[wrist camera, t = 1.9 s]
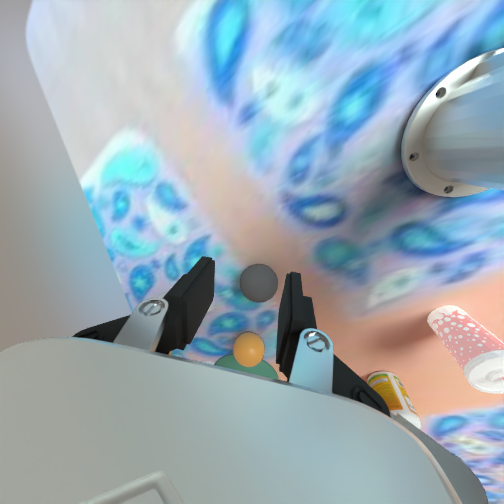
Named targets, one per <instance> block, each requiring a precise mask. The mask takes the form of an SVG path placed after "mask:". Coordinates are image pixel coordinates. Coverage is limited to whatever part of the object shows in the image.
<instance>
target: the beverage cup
mask: <svg viewBox="0 0 504 504" xmlns="http://www.w3.org/2000/svg"><path fill="white" fill-rule="evenodd" d="M427 322H428V323H429V325H430V326H431V328H432V329H433V330H434V332H435V333H436V335H437V336H438V337H439V339H440V340H441V341H442V343H443V344H444V345H445V347H446V348H447V350H448V351H449V352H450V354H451V355H452V356H453V358H454V359H455V360H456V362H457V363H458V365H459V366H460V367H461V369H462V370H463V374H464V376H465V377H466V379H467V380H468V382H469V383H470V385H471V386H472V387H474V388H476V389H477V390H479V391H482V392H487V393H504V342H503V341H502V340H501V339H500V338H498V337H497V336H496V335H494V334H493V333H492V332H490V331H489V330H488V329H487V328H485V327H484V326H483V325H481V324H480V323H479V322H477V321H476V320H475V319H474V318H472V317H471V316H470V315H468V314H467V313H466V312H464V311H463V310H462V309H460V308H458V307H457V306H451V305H449V306H442V307H439V308H436V309H435V310H433V311H432V312H431V313H430V314H429V316H428V320H427Z"/></svg>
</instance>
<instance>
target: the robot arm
mask: <svg viewBox="0 0 504 504" xmlns="http://www.w3.org/2000/svg"><path fill="white" fill-rule="evenodd" d="M436 93H437V97H436V96H435V94H436ZM410 155H412V157H411V159H409V158H410ZM401 159H402V164H403V168H404V170H405V172H406V174H407V176H408V178H409V179H410V180H411V181H412V183H413V184H414V185H416V186H417V187H418V188H420V189H421V190H423V191H426V192H428V193H430V194H434V195H438V196H444V197H462V196H469V195H473V194H477V193H480V192H483V191H486V190H488V189H491V188H492V189H499V190H504V48H499V49H496V50H493V51H489V52H486V53H483V54H481V55H479V56H477V57H475V58H473V59H471V60H468V61H466V62H465V63H463V64H461V65H460V66H458V67H456V68H454V69H453V70H451V71H450V72H449V73H448V74H446V75H445V76H444V77H442V78H441V79H440V80H438V81H437V82H436V83H435V85H434V86H433V87H432V88H431V89H430V90H429V91H428V92H427V93H426V94H425V95H424V96H423V98H422V99H421V100H420V102H419V103H418V104H417V106H416V107H415V109H414V111H413V113H412V115H411V116H410V118H409V120H408V123H407V125H406V128H405V131H404V134H403V139H402V144H401ZM214 275H215V261H214V260H212V258H210V257H204V256H202V257H201V258H200V260H199V261H198V262H197V263H196V264H195V265H194V267H193V268H192V269H191V270H190V271H189V272H188V274H184V275H183V276H182V277H181V278H180V279H179V280H178V282H177V283H176V284H175V285H174V286H173V287H172V288H171V289H170V291H169V292H168V293H167V294H166V295H165V296H164V297H163V299H162V298H150V299H146V300H144V301H142V302H141V303H139V304H138V305H137V306H136V308H135V309H134V311H133V312H132V314H131V315H129V316H126V317H122V318H119V319H116V320H113V321H109V322H106V323H103V324H100V325H97V326H93V327H90V328H87V329H85V330H82V331H80V332H78V333H76V334H75V335H74V336H72V337H53V338H52V337H51V338H42V339H37V340H31V341H27V342H23V343H20V344H17V345H14V346H12V347H10V348H8V349H6V350H4V351H2V352H0V504H488V499H487V496H486V492H485V489H484V488H483V486H482V484H481V482H480V481H479V479H478V478H477V477H476V475H475V474H474V473H473V472H472V470H471V469H470V468H469V467H468V466H467V465H465V464H464V463H463V462H462V461H461V460H460V459H459V458H457V457H456V456H454V455H453V454H452V453H450V452H449V451H448V450H446V449H445V448H444V447H442V446H441V445H440V444H438V443H437V442H436V441H434V440H433V439H432V438H430V437H429V436H428V435H426V434H425V433H424V432H422V431H421V430H420V429H418V428H417V427H416V426H414V425H413V424H412V423H410V422H409V421H408V420H406V419H405V418H404V417H402V416H401V415H400V414H398V413H397V414H396V415H394V414H393V413H392V412H390V411H389V408H388V406H387V404H386V402H385V401H384V399H383V398H382V397H381V396H380V395H379V394H378V393H377V392H376V391H375V390H374V389H373V388H372V387H370V386H369V385H368V384H367V383H366V382H365V381H364V380H363V379H361V378H360V377H359V376H358V375H357V374H356V373H355V372H353V371H352V370H351V369H350V368H349V367H348V366H347V365H346V364H344V363H343V362H342V361H341V360H340V359H339V358H338V357H336V356H335V355H334V354H333V352H334V346H333V342H332V340H331V339H330V338H329V336H328V335H326V334H325V333H324V332H322V331H320V330H318V329H317V326H316V320H315V315H314V309H313V303H312V298H311V297H307V296H303V292H302V283H301V274H300V273H296V272H291V273H290V274H288V273H287V275H286V280H285V285H284V289H283V294H282V299H281V303H280V308H279V315H278V333H277V350H276V363H277V364H280V367H279V371H280V372H283V373H284V375H285V376H286V377H287V382H286V381H281V380H277V379H273V378H268V377H264V376H260V375H255V374H251V373H247V372H243V371H238V370H234V369H229V368H225V367H221V366H216V365H212V364H207V363H203V362H198V361H194V360H190V359H185V358H181V357H176V356H172V350H174V349H181V350H184V348H185V346H186V345H187V344H190V343H191V341H192V339H193V337H194V336H195V334H196V332H197V330H198V328H199V326H200V324H201V322H202V320H203V318H204V316H205V314H206V313H207V311H208V309H209V307H210V305H211V303H212V301H213V298H214Z"/></svg>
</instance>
